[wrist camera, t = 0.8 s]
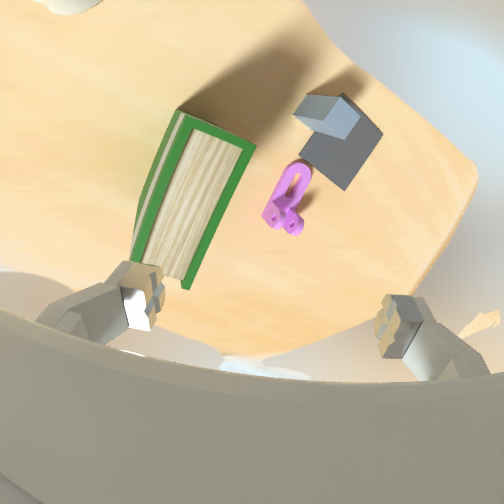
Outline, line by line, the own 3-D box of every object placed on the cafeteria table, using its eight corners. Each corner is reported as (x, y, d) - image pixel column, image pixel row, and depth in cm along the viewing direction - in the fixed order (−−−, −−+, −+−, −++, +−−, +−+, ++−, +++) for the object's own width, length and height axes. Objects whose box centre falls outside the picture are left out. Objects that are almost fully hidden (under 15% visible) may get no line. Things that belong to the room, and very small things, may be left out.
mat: (298, 154, 55) (299, 155, 54) (342, 93, 50) (343, 93, 50) (343, 190, 61) (344, 191, 61) (382, 134, 57) (383, 134, 57)
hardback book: (176, 212, 53) (189, 290, 34) (138, 200, 50) (127, 274, 30) (215, 124, 48) (256, 145, 28) (176, 108, 44) (187, 115, 24)
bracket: (283, 223, 62) (297, 238, 56) (261, 215, 59) (272, 230, 53) (312, 168, 57) (329, 178, 51) (290, 157, 55) (306, 165, 49)
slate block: (291, 114, 50) (323, 121, 40) (305, 94, 49) (340, 96, 39) (310, 129, 53) (344, 140, 43) (324, 110, 51) (360, 116, 41)
